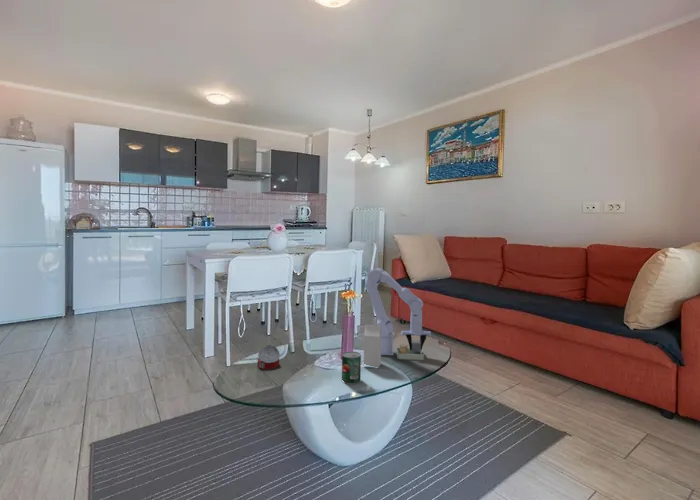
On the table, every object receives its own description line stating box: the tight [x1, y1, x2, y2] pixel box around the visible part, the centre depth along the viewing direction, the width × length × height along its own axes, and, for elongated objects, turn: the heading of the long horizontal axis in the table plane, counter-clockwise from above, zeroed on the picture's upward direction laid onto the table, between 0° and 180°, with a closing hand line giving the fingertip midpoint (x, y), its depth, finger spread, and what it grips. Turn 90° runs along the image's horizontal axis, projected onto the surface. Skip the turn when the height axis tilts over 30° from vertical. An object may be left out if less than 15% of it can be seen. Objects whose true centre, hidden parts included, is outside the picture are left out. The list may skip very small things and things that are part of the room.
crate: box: [395, 347, 426, 361], centre depth 184 cm, size 13×10×3 cm
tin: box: [411, 339, 421, 354], centre depth 184 cm, size 5×5×6 cm
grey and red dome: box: [257, 344, 281, 370], centre depth 170 cm, size 11×10×10 cm
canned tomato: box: [341, 351, 362, 385], centre depth 153 cm, size 8×8×11 cm
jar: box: [399, 344, 409, 354], centre depth 184 cm, size 4×4×5 cm
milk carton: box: [363, 324, 382, 368], centre depth 170 cm, size 7×7×19 cm
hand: (415, 349), depth 184 cm, fingers closed on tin, 4 cm apart
